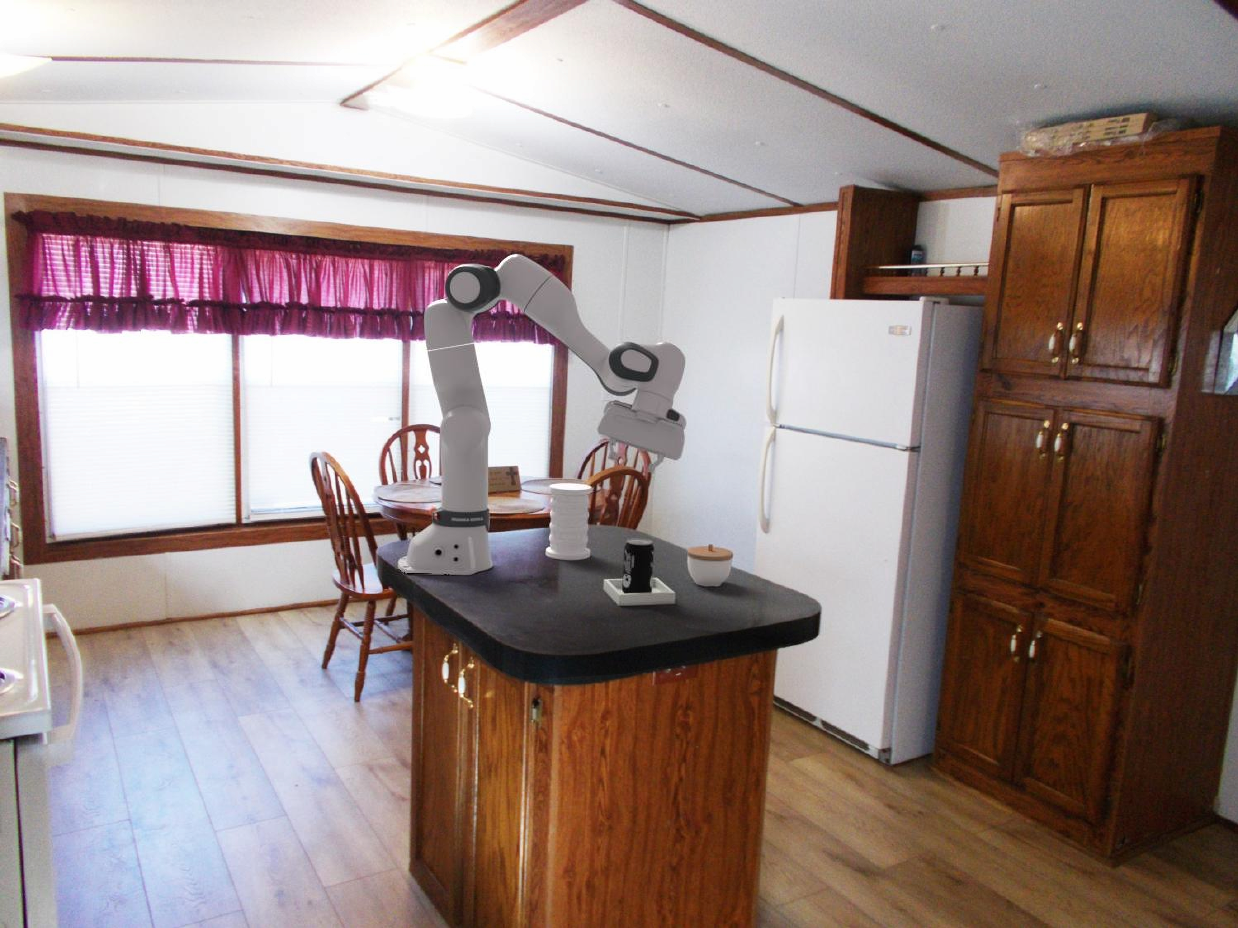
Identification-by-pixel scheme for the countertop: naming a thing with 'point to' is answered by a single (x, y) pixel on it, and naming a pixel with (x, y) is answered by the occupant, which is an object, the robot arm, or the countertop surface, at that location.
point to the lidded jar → (709, 564)
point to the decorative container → (569, 521)
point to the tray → (639, 594)
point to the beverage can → (638, 566)
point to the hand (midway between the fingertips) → (630, 465)
